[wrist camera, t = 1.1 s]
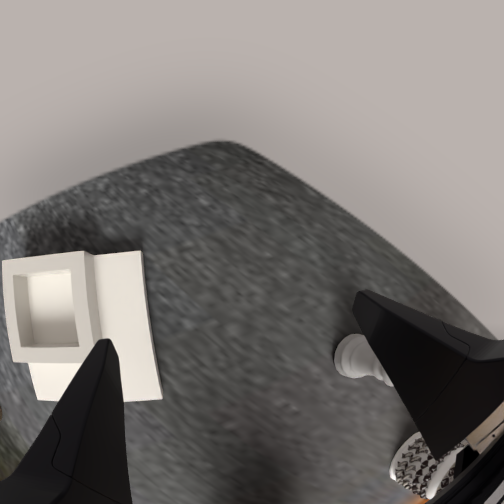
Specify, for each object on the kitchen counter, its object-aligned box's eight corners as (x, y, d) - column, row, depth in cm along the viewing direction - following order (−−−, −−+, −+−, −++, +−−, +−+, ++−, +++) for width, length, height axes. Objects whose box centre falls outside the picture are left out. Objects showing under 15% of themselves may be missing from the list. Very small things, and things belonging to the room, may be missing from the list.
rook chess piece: (329, 338, 26) (382, 351, 18) (366, 328, 27) (422, 334, 19) (333, 381, 25) (384, 404, 17) (369, 368, 26) (422, 384, 18)
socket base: (163, 393, 21) (160, 410, 17) (44, 394, 18) (25, 408, 14) (142, 253, 23) (135, 245, 19) (24, 265, 19) (2, 260, 16)
